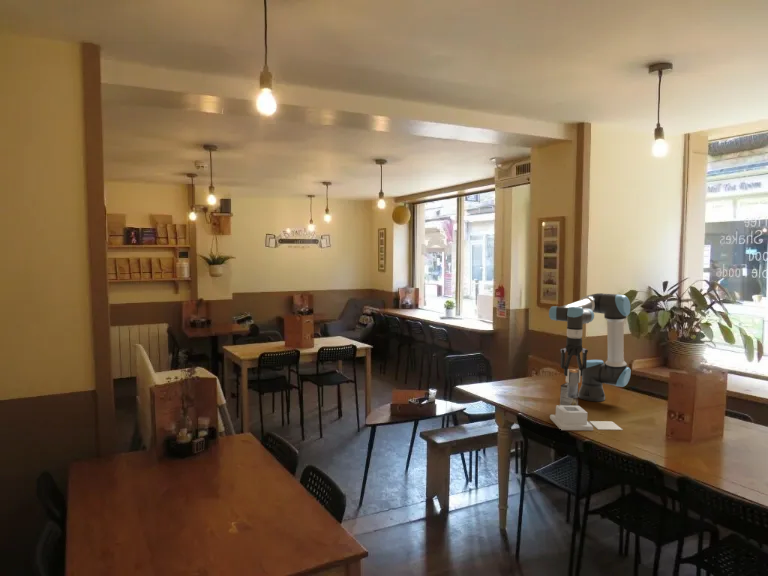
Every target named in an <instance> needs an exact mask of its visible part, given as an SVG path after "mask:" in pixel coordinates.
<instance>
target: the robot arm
mask: <svg viewBox="0 0 768 576" xmlns="http://www.w3.org/2000/svg"><path fill="white" fill-rule="evenodd" d="M630 313H631V302H630V299H629V298H628V296H626V295H625V294H620V293H619V294H618V293H604V292H603V293H600V292H599V293H592V294H588V295H585V296H582V297H581V298H580V299H579V300H577V301H573V302H570V303H568V304H564V305H561V306H558V305H556V306H554V305H553V306H550V308H549V310H548V317H549V319H550V320H551V321H556V322H557V321H559V322H567V323H566V336H567V337H566V342H565V343H566V346H565V347H564V348H559V352H560V368H561V369H563V375H564V376H565V383H569V370H568V369H569V366H570V363H571V360H572V357H573V356H575V357H576V358H575V359H576V362H577V367H578V368H577V370H578V384H580V383H581V386H580V388H579V389H578V399H581V400H584V401H587V402H604V401H605V400H606V393H605V391H604V388H603V384H606V385H610V386H615V387H621V388H623V387H625V386H627V385H628V383H629V382H630V378H631V373H632V370H631V368H630V367H628V364H627V362H626V361H625V353H624V351H625V348H624V347H625V346H624V345H625V344H624V343H625V342H624V339H625V338H624V337H625V336H624V329H625V328H624V321H625V320H626V319H627V317H628V316H629V315H630ZM595 314H603V315H604V317H603V318H604V319H605V320H606V321H607V322H606V323H607V326H606V327H607V329H606V330H607V339H606V340H607V359H606V361H605V362H604V360H602V359H587V357H588V356H587V355H588V353H589V352H588V351H589V350H588V349H587V348H584V347H583V338H582V337H583V331H584V330H583V326H584V325H585V324H589V323H591V322H592V321H593V320H594V319H595ZM566 352H567V356H566ZM581 352H582V360H581V354H580V353H581ZM565 358H566V359H565Z"/></svg>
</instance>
